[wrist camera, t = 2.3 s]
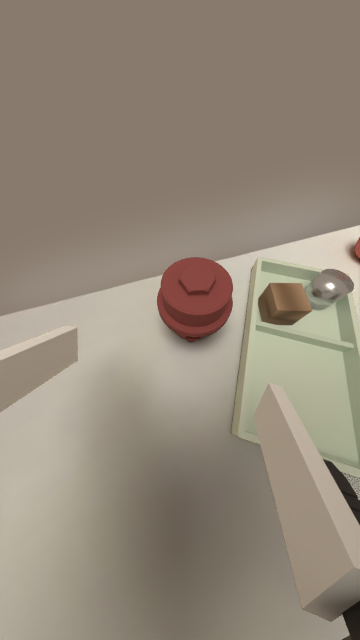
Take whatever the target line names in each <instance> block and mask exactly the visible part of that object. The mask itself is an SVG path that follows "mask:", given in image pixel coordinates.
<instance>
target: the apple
mask: <svg viewBox="0 0 360 640" xmlns="http://www.w3.org/2000/svg"><path fill="white" fill-rule="evenodd" d="M355 253H356V255H357V257H358V258H359V259H360V237H359V239H358V241H357V244H356V246H355Z"/></svg>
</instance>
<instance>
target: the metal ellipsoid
mask: <svg viewBox="0 0 360 640" xmlns="http://www.w3.org/2000/svg"><path fill="white" fill-rule="evenodd" d="M353 288H354V284H353V282H352V280H351V279H350V277H349V276H347V275H346V274H345V273H343V272H341V271H338V270H335V269H326V270H323V271H322V272H321V273H320V274H319V275H318V276H317V277H315V278H314V279H313V280H312V281H311V282H310V283H309V284H308V285H307V286H306V287H305V288H304V290H305V293H306V295H307V298H308V301H309V303H310V306H311V308H312V309H313V310H324V309H326V308H327V307H329V306H330V305H332V304H333V303H335V302H336V301H338V300H339V299H341V298H342V297H344V296H346V295H347V294H349V293H350V292H351V291H352V290H353Z"/></svg>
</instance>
